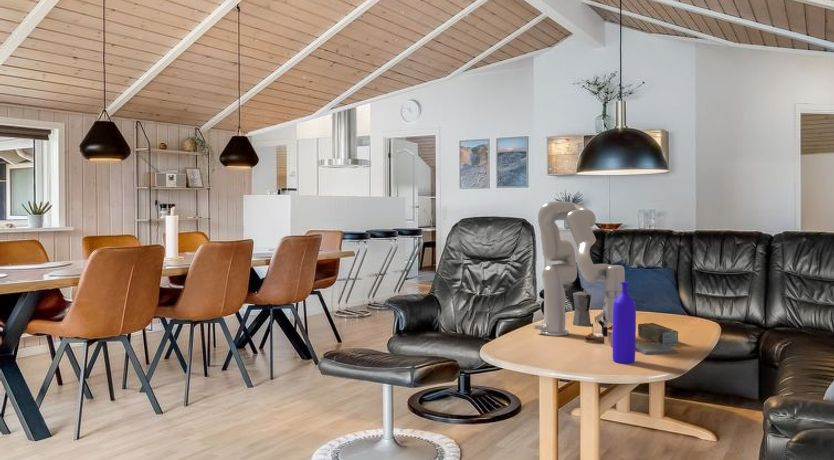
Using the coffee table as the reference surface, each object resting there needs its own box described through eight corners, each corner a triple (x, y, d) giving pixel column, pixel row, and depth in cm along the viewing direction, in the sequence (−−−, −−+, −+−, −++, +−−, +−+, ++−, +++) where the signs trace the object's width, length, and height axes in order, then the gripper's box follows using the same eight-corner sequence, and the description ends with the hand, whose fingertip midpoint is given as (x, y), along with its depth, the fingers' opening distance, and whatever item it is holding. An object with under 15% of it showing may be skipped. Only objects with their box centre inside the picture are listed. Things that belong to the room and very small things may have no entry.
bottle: (608, 359, 254) (609, 280, 253) (629, 358, 255) (631, 280, 254) (617, 364, 246) (618, 283, 245) (638, 363, 247) (640, 283, 246)
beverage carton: (662, 346, 278) (662, 330, 278) (636, 337, 297) (637, 322, 297) (678, 345, 280) (679, 329, 280) (652, 336, 299) (653, 321, 298)
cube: (610, 347, 276) (611, 332, 275) (604, 344, 281) (604, 330, 281) (624, 346, 277) (624, 332, 276) (617, 343, 283) (617, 329, 282)
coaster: (645, 354, 262) (645, 351, 262) (627, 346, 276) (627, 343, 276) (677, 352, 265) (677, 349, 265) (658, 345, 278) (658, 342, 278)
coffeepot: (567, 322, 332) (567, 286, 332) (585, 321, 334) (585, 285, 333) (579, 328, 317) (580, 290, 316) (598, 327, 319) (599, 289, 318)
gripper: (600, 296, 273) (600, 338, 273) (639, 294, 276) (639, 336, 276) (592, 294, 280) (592, 335, 280) (630, 292, 283) (630, 333, 284)
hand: (615, 335), depth 278 cm, fingers open, 9 cm apart
